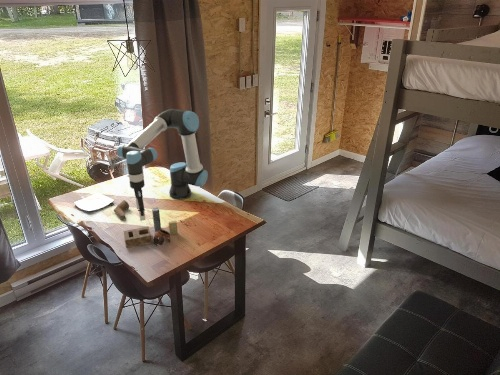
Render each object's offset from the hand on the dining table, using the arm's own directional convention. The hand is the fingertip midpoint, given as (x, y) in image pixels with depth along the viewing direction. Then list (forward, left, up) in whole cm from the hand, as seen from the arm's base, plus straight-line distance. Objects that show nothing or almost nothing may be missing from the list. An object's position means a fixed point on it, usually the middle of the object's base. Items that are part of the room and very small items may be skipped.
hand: (141, 214), depth 215 cm
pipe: (+8, -35, -17) cm, 40 cm away
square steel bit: (-9, -8, -17) cm, 21 cm away
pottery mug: (-9, +7, -17) cm, 20 cm away
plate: (+25, -54, -17) cm, 62 cm away
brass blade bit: (-17, 0, -17) cm, 24 cm away
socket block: (+4, 0, -17) cm, 17 cm away
